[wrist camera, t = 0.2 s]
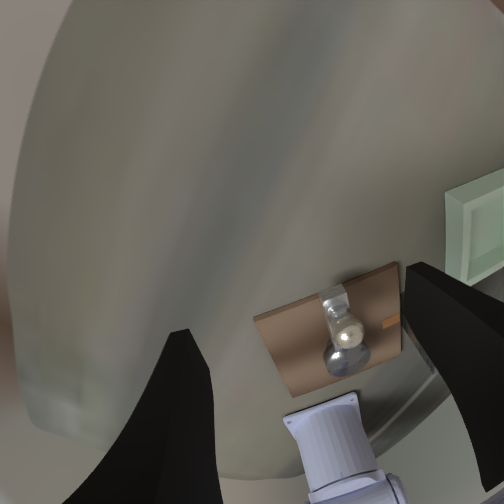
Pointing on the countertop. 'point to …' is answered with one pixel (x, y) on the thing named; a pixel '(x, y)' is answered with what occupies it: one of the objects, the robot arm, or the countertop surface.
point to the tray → (475, 228)
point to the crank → (343, 334)
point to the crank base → (317, 334)
